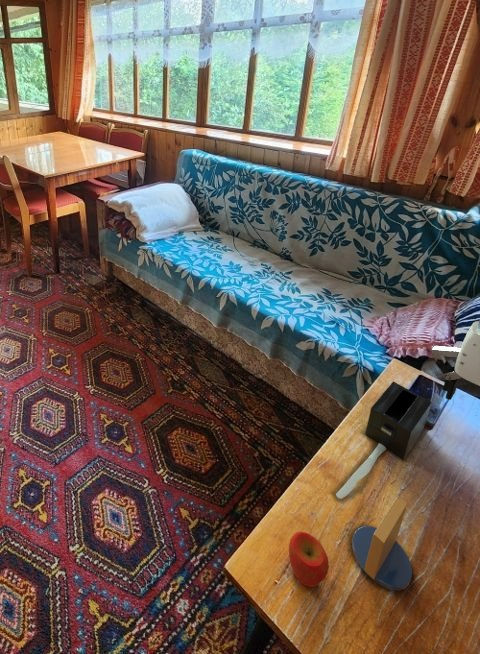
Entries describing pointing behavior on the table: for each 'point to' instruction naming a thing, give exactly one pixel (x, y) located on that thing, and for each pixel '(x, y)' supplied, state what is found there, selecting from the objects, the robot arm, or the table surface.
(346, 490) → the butter knife
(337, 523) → the table surface
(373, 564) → the toast
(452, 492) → the table surface
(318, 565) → the apple
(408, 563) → the plate
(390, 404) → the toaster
